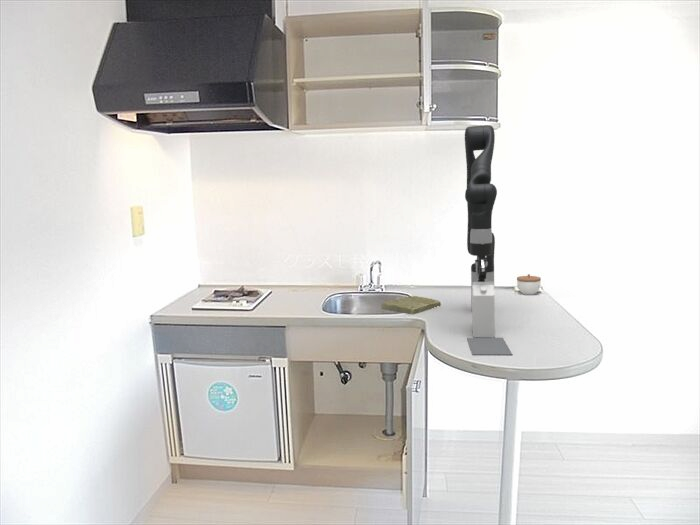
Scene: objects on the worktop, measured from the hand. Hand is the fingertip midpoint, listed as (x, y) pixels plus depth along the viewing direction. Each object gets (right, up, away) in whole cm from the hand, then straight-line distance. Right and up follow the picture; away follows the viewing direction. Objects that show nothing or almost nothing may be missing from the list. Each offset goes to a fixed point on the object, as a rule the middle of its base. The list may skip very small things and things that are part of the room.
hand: (481, 289), depth 182 cm
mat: (-2, -18, -15) cm, 23 cm away
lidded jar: (+39, -5, +63) cm, 75 cm away
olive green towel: (-20, -11, +45) cm, 50 cm away
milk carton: (0, -16, -2) cm, 16 cm away
